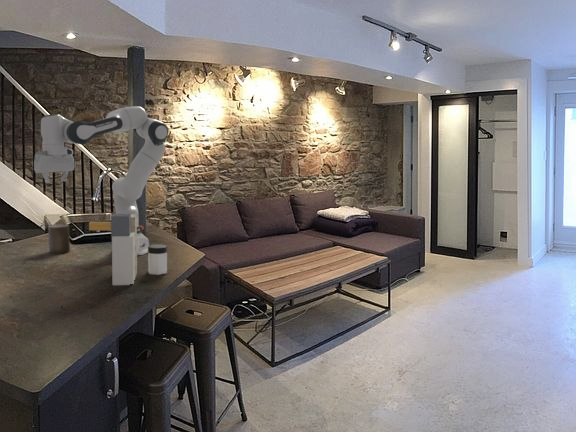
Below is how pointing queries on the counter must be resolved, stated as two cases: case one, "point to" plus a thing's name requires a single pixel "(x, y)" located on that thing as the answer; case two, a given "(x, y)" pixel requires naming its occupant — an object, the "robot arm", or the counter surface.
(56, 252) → the pillar candle
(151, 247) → the jar
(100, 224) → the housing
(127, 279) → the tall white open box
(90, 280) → the counter surface
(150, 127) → the robot arm
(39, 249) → the counter surface
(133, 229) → the tall pedestal
